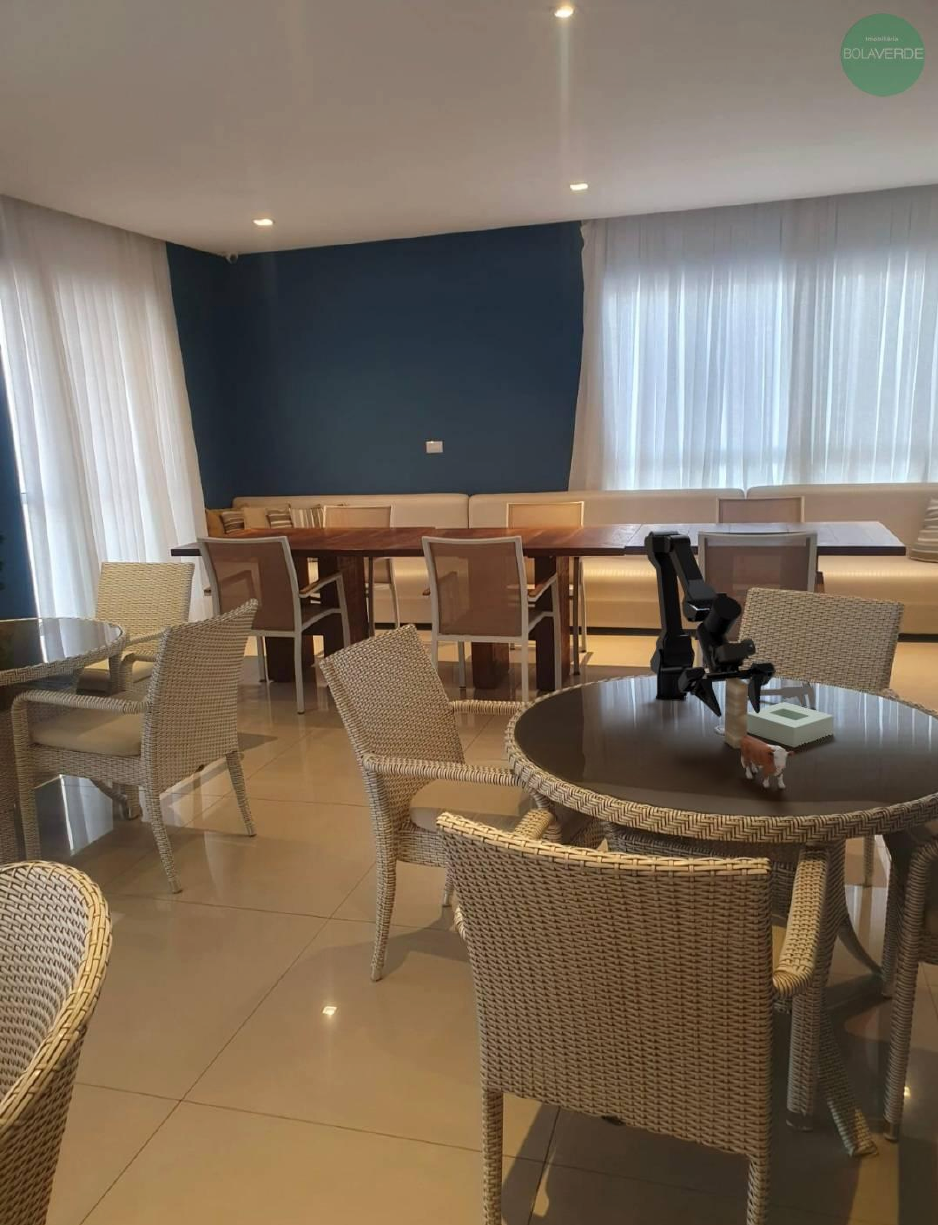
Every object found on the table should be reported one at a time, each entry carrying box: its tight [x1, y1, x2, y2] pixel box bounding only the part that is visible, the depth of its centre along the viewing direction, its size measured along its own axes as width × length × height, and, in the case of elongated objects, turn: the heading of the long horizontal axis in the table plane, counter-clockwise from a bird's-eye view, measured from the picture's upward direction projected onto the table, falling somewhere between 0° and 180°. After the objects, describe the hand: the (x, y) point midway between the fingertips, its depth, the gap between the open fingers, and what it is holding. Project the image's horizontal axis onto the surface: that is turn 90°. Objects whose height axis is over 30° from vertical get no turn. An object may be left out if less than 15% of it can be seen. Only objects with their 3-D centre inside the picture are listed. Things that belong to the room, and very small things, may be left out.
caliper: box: [760, 680, 816, 709], centre depth 199 cm, size 20×1×6 cm, turn 49°
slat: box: [724, 678, 749, 749], centre depth 172 cm, size 2×4×13 cm, turn 9°
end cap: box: [747, 701, 835, 748], centre depth 178 cm, size 12×12×4 cm
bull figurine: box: [740, 734, 795, 790], centre depth 153 cm, size 4×13×8 cm, turn 13°
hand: (739, 714), depth 171 cm, fingers open, 8 cm apart
